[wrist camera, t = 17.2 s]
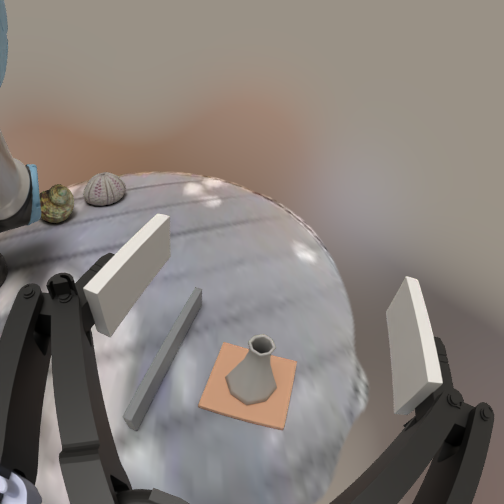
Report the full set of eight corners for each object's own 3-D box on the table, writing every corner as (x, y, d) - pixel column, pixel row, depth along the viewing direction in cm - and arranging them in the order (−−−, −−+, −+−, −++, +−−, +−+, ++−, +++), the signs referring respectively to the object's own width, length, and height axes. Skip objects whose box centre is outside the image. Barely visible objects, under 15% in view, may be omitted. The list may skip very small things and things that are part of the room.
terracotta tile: (282, 430, 35) (283, 428, 35) (198, 407, 37) (198, 405, 36) (295, 364, 45) (296, 361, 44) (223, 344, 46) (223, 342, 46)
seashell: (64, 205, 74) (60, 174, 69) (81, 217, 70) (76, 183, 65) (35, 219, 67) (28, 187, 61) (49, 233, 63) (42, 198, 57)
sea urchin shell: (108, 212, 74) (106, 186, 69) (75, 204, 76) (72, 179, 71) (134, 193, 85) (133, 169, 80) (101, 187, 86) (100, 164, 82)
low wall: (136, 431, 32) (130, 420, 29) (129, 427, 32) (122, 416, 29) (201, 305, 53) (202, 289, 50) (195, 303, 53) (195, 287, 50)
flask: (244, 413, 36) (255, 379, 30) (216, 375, 40) (220, 335, 35) (285, 390, 40) (303, 352, 34) (256, 356, 44) (267, 314, 39)
